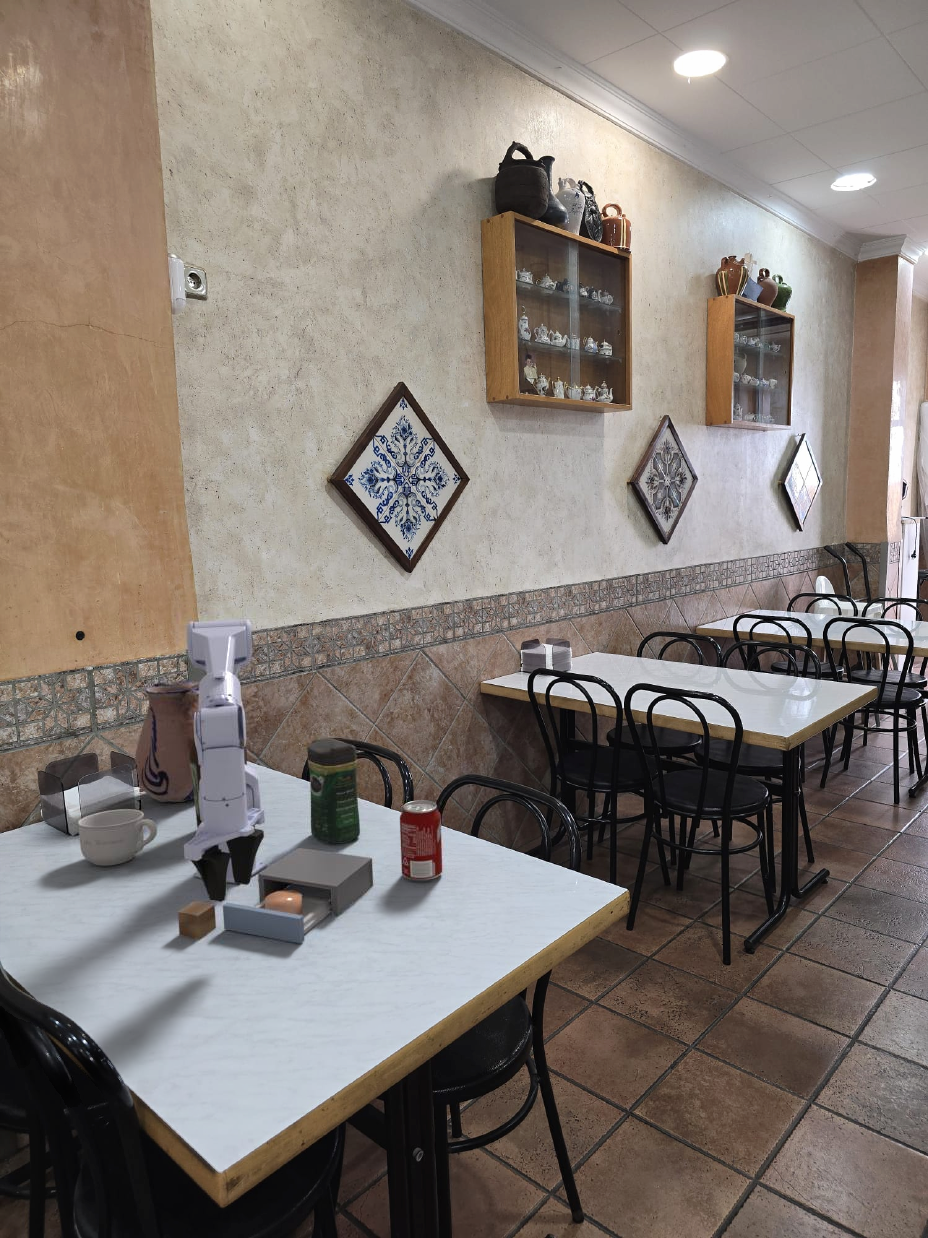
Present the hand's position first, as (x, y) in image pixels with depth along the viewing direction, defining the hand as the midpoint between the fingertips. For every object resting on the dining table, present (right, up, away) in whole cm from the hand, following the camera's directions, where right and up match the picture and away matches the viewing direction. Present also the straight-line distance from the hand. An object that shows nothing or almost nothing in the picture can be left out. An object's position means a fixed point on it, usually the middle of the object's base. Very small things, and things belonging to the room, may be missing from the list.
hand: (230, 891), depth 112 cm
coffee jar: (+8, -4, +44) cm, 44 cm away
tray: (+5, -8, +10) cm, 14 cm away
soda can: (+25, -6, +25) cm, 36 cm away
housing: (+8, -7, +19) cm, 21 cm away
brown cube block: (-7, -8, +8) cm, 13 cm away
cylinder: (+5, -7, +11) cm, 14 cm away
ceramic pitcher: (-30, -2, +69) cm, 75 cm away
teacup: (-29, -6, +35) cm, 46 cm away
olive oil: (-15, -4, +48) cm, 51 cm away
